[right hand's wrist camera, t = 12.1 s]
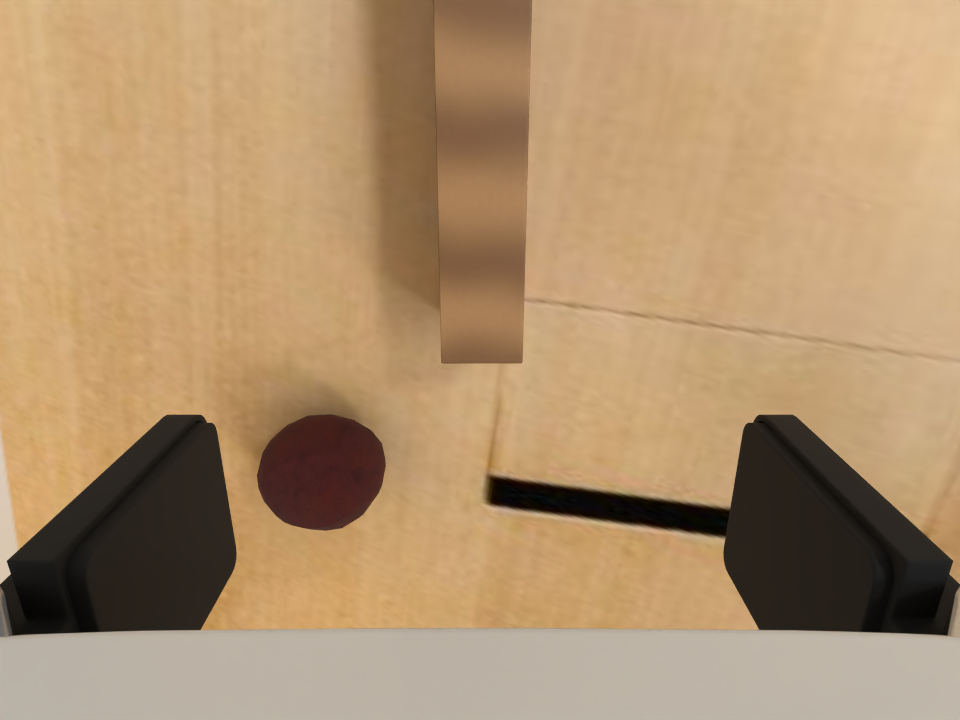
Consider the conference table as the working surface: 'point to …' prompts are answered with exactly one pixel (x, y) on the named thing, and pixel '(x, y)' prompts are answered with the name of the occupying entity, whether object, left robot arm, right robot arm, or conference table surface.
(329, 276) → the conference table surface
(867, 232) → the conference table surface
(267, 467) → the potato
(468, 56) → the bar
